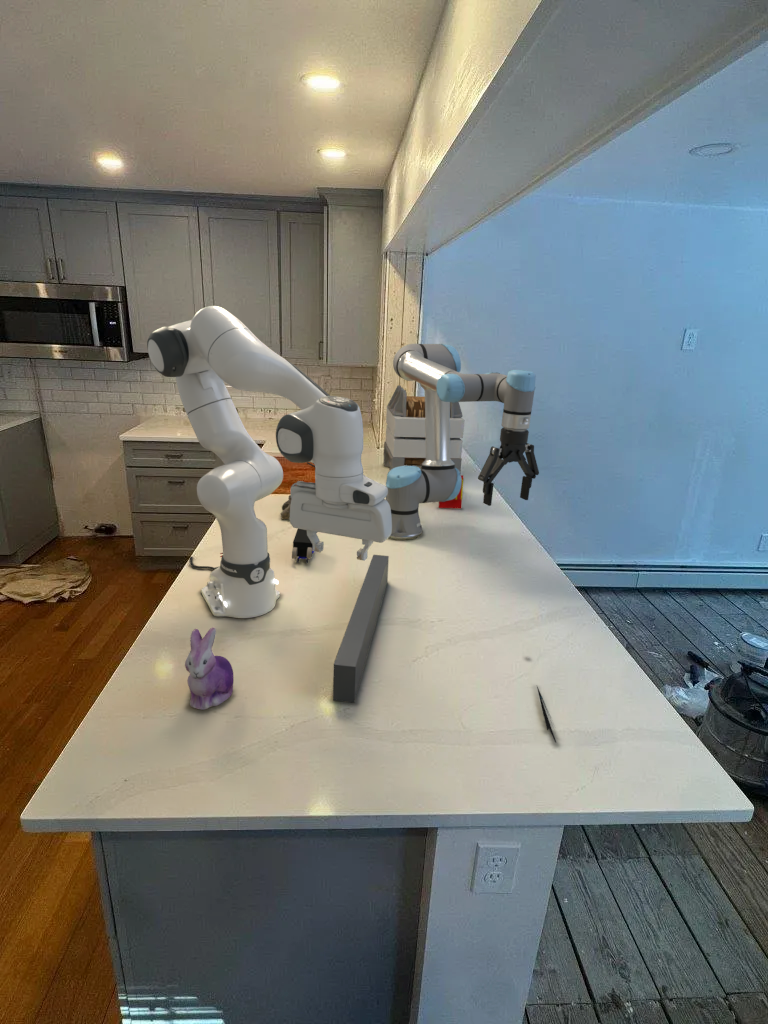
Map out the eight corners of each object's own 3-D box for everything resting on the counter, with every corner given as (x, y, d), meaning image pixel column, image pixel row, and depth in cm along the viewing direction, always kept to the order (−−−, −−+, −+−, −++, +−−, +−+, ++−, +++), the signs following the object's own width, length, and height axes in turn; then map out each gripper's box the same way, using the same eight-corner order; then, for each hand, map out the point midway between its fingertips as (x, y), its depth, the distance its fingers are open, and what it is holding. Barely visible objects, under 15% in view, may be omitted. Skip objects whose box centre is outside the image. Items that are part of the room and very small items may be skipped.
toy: (456, 466, 252) (467, 476, 223) (454, 496, 255) (465, 509, 225) (428, 465, 252) (437, 475, 222) (427, 495, 254) (435, 508, 225)
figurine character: (313, 570, 172) (317, 545, 186) (312, 548, 169) (317, 525, 182) (290, 569, 172) (297, 545, 186) (290, 548, 169) (296, 524, 182)
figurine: (192, 718, 107) (185, 650, 102) (183, 687, 116) (177, 623, 111) (241, 704, 111) (238, 639, 106) (229, 675, 120) (225, 613, 115)
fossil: (285, 490, 226) (313, 470, 221) (301, 508, 229) (329, 489, 224) (270, 515, 206) (301, 493, 201) (287, 534, 209) (318, 513, 204)
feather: (528, 662, 131) (533, 656, 131) (556, 747, 105) (562, 740, 104) (522, 659, 131) (527, 652, 130) (548, 742, 104) (555, 735, 104)
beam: (372, 581, 164) (373, 554, 162) (387, 582, 164) (388, 555, 161) (332, 700, 114) (333, 664, 111) (354, 703, 114) (355, 666, 111)
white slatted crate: (382, 463, 289) (386, 382, 275) (445, 464, 293) (451, 384, 279) (390, 482, 257) (394, 392, 243) (460, 483, 261) (468, 394, 247)
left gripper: (281, 483, 106) (284, 552, 110) (383, 498, 99) (381, 570, 103) (298, 475, 111) (300, 541, 116) (396, 488, 104) (394, 557, 109)
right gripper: (487, 434, 147) (479, 511, 154) (558, 428, 158) (547, 500, 166) (470, 428, 153) (462, 502, 160) (539, 423, 164) (529, 492, 172)
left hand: (339, 555), depth 109 cm, fingers open, 8 cm apart
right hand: (505, 501), depth 163 cm, fingers open, 13 cm apart
